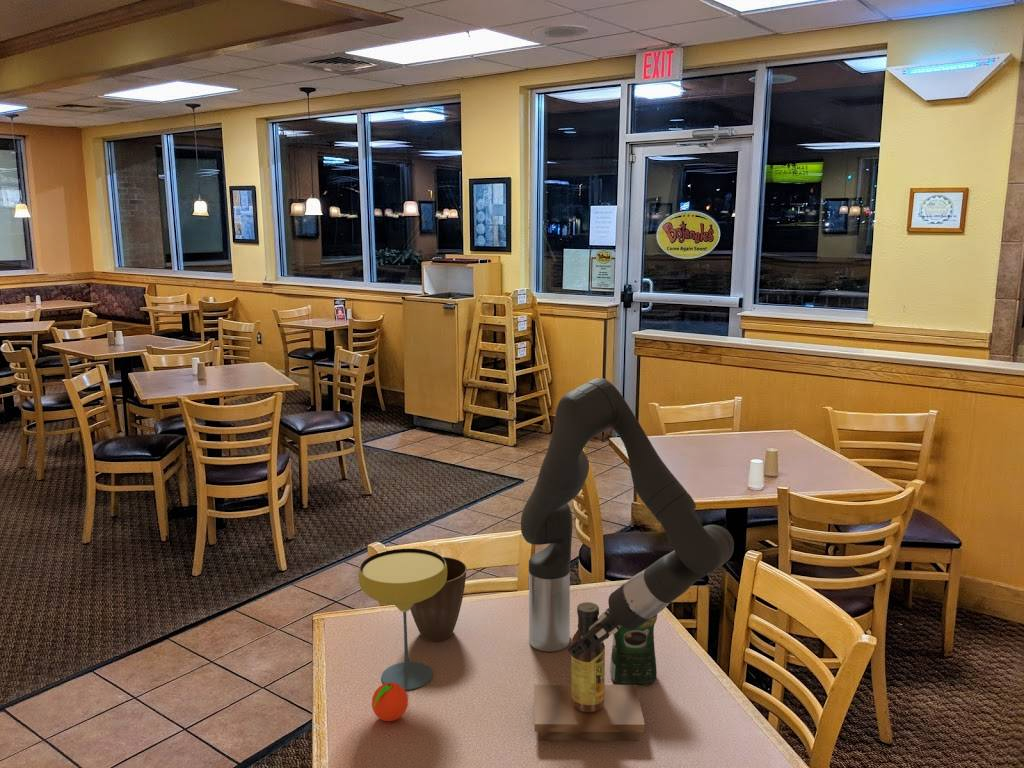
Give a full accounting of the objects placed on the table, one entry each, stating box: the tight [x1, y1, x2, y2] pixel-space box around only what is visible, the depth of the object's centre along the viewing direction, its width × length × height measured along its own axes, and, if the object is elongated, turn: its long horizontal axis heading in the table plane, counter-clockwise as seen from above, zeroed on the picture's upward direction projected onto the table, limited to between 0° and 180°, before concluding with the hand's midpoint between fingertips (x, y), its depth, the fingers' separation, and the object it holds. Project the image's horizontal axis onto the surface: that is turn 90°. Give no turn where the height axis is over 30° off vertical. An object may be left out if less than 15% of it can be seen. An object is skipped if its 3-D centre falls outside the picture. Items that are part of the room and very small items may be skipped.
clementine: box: [371, 683, 409, 722], centre depth 155 cm, size 8×7×7 cm
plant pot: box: [409, 556, 468, 642], centre depth 187 cm, size 15×15×16 cm
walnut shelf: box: [533, 684, 646, 742], centre depth 153 cm, size 20×13×4 cm, turn 89°
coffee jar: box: [609, 614, 658, 687], centre depth 167 cm, size 10×8×19 cm
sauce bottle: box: [570, 601, 606, 713], centre depth 151 cm, size 7×6×20 cm
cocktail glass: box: [358, 548, 447, 691], centre depth 168 cm, size 18×18×25 cm
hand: (581, 642), depth 151 cm, fingers open, 8 cm apart
